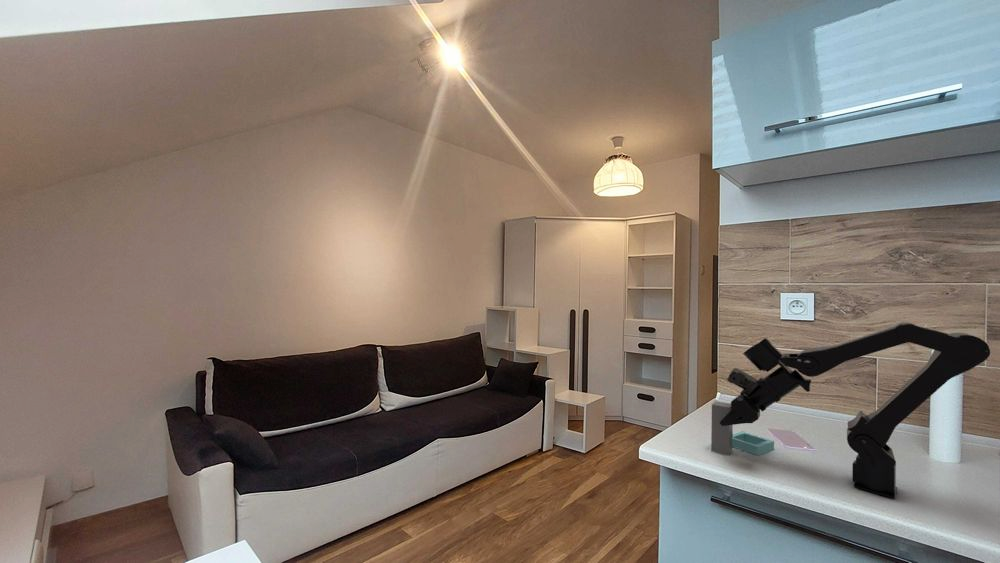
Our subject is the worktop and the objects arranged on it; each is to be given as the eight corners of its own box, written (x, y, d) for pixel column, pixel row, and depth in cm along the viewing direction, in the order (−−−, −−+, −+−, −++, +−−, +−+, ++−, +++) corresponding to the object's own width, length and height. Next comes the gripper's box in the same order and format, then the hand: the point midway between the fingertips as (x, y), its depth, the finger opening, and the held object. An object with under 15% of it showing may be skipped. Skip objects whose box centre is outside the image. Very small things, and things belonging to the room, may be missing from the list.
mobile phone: (793, 430, 124) (818, 449, 109) (793, 433, 124) (817, 452, 109) (765, 427, 126) (785, 445, 111) (765, 430, 126) (785, 449, 111)
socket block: (774, 449, 111) (774, 441, 111) (757, 455, 106) (757, 447, 106) (742, 438, 118) (742, 431, 118) (725, 444, 113) (725, 436, 113)
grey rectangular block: (732, 450, 109) (732, 404, 109) (729, 455, 106) (729, 407, 106) (715, 446, 112) (715, 401, 112) (711, 451, 109) (711, 404, 109)
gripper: (755, 355, 112) (710, 388, 119) (742, 365, 98) (692, 401, 105) (789, 389, 107) (740, 421, 114) (781, 404, 93) (726, 440, 100)
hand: (724, 419), depth 109 cm, fingers open, 9 cm apart
